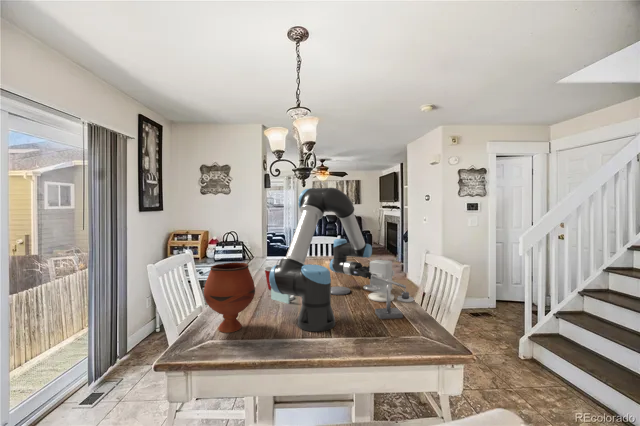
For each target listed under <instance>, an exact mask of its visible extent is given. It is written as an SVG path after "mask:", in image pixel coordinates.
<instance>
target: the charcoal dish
mask: <svg viewBox="0 0 640 426" xmlns="http://www.w3.org/2000/svg"><path fill="white" fill-rule="evenodd" d="M350 293H351V289H350V288H349V287H345V286H341V285H340V286H339V285H337V286H331V295H335V296H343V295H348V294H350Z"/></svg>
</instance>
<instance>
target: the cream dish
mask: <svg viewBox="0 0 640 426" xmlns="http://www.w3.org/2000/svg"><path fill="white" fill-rule="evenodd" d="M367 298H368V299H369V300H371V301H374V302H378V303H379V302H381V303H382V302H384V303H387V302H386V293H381V292H374V291H373V292H370V293H369V294H368V296H367ZM394 300H395V295H394V294H392V293H391V302H392V301H394Z"/></svg>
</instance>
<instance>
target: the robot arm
mask: <svg viewBox="0 0 640 426" xmlns="http://www.w3.org/2000/svg"><path fill="white" fill-rule="evenodd" d="M298 197H299V198H298V203H297V204H298V208H299V211H300V217H299V220H298V223H297V225H296V228H295V230H294V234H293V236H292V239H291V241H290V244H289V247H288V250H287V253H286V255H285V257H284V256H283V257H281V258H280V261H279V264H275V265H274V266H271V267H272V269H271V271H270V275H269V282H270V286H271V288H272V290H273V291H275V292H277V293H281V294H287V295H293V296H294V297H301V308H300V311H299V314H298V317H297V326H298V328H300V329H301V330H304V331H307V332H325V331H328V330H331V329H333V328H335V326H336V317H335V315H334V311H333V308H332V303H331V302H332V301H331V300H332V299H331V297H332V294H331V287H332V286H331V285H332V279H331V271H332V272H334V273H338V274H343V275H348V276H354V277H362V278H364V279H368V280H370V279H371V275H372V274H373V275H376V276H379V277H382V278H383V274H380V273H374V272H370V265H368V266H366V265H363V264H362V263H361V262H357V261H352V260H348V257H355V258H363V259H364V258H365V259H367V258H368V259H369V258H370V257H371V256H372V254H373V248H372V245H371V244H369V243H366V242H365V239H364V236H363V234H362V230H361V229H360V225H359V223H358V220H357V218H356V214H355V207H354V206H355V205H354V203H353V202H352V200H351V199H350V197H348V195H347V194H345V192H343V191H342V190H340V189H338V188H336V187H316V188H315V187H310V188H305V189H303V190H302V191H301V193H300V194H299V196H298ZM326 212H327V213H334V214H335V216H336V217H337V218H339V220H340V222H341V226H342V228H343V229H344V231H345V234H346V236H347V238H348V241H349V242H348V241H347V239H345V238H335V239H334V240H333V258H332V259H331V260H330V261H329V268H327V267H326V266H323V265H319V264H305V262H306V258H307V255H308V252H309V249H310V246H311V243H312V240H313V237H314V234H315V231H316V229H317V225H318V222H319V220H320V219H323V216H324V215H325V213H326ZM394 276H395V270H393V269H392V277H394ZM372 278H373V277H372Z"/></svg>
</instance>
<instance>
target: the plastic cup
mask: <svg viewBox="0 0 640 426" xmlns="http://www.w3.org/2000/svg"><path fill="white" fill-rule="evenodd" d="M272 267H273V266H266V267H263V270H264V273H265V274H264V275H265V278H266V280H265V281H266V284H267V288H268V290H270V291H271V286H270V282H269V275H270V271H271V269H272Z"/></svg>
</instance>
